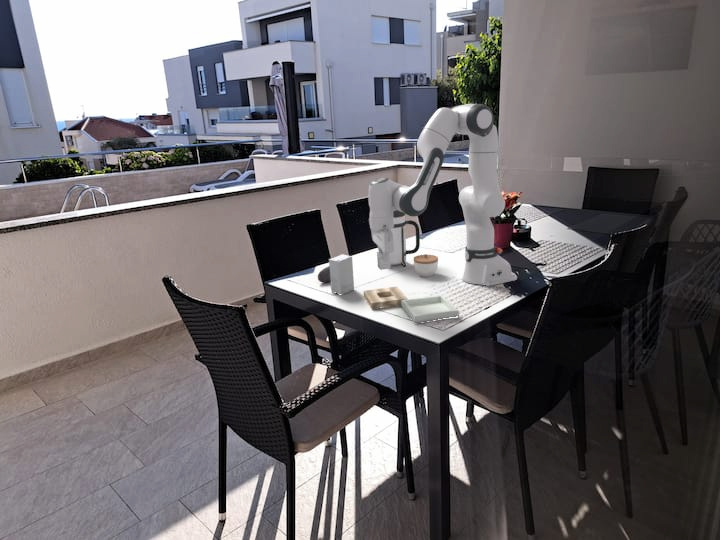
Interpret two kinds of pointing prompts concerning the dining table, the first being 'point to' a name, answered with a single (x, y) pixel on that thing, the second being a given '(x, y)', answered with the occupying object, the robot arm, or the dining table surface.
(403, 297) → the socket block
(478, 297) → the dining table surface
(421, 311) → the tray
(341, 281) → the skincare box
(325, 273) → the perforated stone tool
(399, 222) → the coffee press
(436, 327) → the dining table surface
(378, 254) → the pin
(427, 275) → the lidded jar
